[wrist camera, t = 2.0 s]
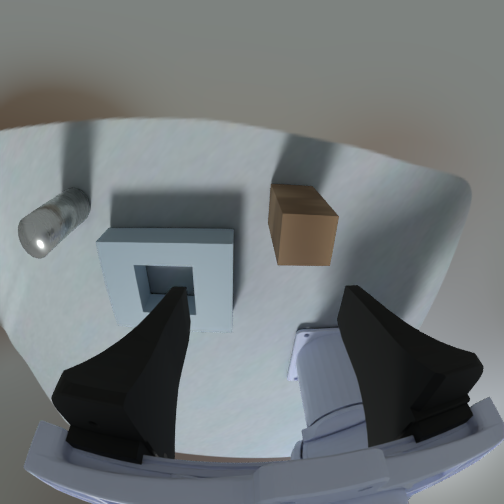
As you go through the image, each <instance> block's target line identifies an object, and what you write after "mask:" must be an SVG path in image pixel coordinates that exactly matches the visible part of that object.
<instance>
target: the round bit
mask: <svg viewBox="0 0 504 504" xmlns="http://www.w3.org/2000/svg"><path fill="white" fill-rule="evenodd" d="M89 211H90V205H89V201H88V198H87V197H86V195H85V194H84V193H83V192H82V191H81V190H79V189H77V188H69V189H67V190H66V191H64V192H62V193H61V194H59V195H57V196H56V197H54V198H53V199H51V200H49V201H48V202H46V203H45V204H43V205H42V206H40V207H39V208H37V209H36V210H34V211H33V212H31V213H30V214H28V215H27V216H26V217H24V218H23V219H22V220H21V221H20V223H19V226H18V236H19V240H20V242H21V244H22V246H23V248H24V249H25V251H26V252H27V253H28V254H30V255H31V256H32V257H35V258H44V257H45V256H46V255H47V254H48V253H49V252H50V251H52V250H53V249H54V248H55V247H56V246H57V245H58V244H59V243H60V242H61V241H62V240H63V239H64V238H65V237H66V236H67V235H69V234H70V233H71V232H72V231H73V230H74V229H75V228H76V227H77V226H79V225H80V224H81V223H82V222H83V221H84V220H85V219H86V218H87V217H88V215H89Z"/></svg>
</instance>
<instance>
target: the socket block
mask: <svg viewBox="0 0 504 504" xmlns="http://www.w3.org/2000/svg"><path fill="white" fill-rule="evenodd" d="M233 245H234V229H207V228H108V229H107V230H106V232H105V233H104V234H103V235H102V236H101V237H100V238H99V239H98V240H97V241H96V246H97V250H98V255H99V259H100V264H101V268H102V272H103V276H104V280H105V284H106V288H107V292H108V295H109V299H110V302H111V306H112V309H113V312H114V316H115V319H116V322H117V325H118V326H126V327H136V326H137V325H138V324H139V323H140V322H141V321H142V320H143V319H144V318H145V317H146V316H147V315H148V314H149V313H150V312H151V311H152V310H153V309H154V308H155V307H156V305H157V304H158V303H159V302H160V301H161V300H162V299H163V297H164V296H165V295H163V294H151V293H150V288H149V282H148V277H147V271H146V265H150V266H183V267H192V268H193V281H194V294H195V296H187V298H188V305H189V312H190V319H191V325H190V331H195V332H223V333H232V327H233Z"/></svg>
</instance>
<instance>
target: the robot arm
mask: <svg viewBox="0 0 504 504" xmlns="http://www.w3.org/2000/svg"><path fill="white" fill-rule="evenodd" d="M337 321H338V325H339V328H324V329H301V330H298V331H297V333H296V337H295V342H294V346H293V351H292V356H291V361H290V365H289V370H288V374H287V380H288V381H299V386H300V391H301V397H302V402H303V408H304V413H305V419H306V424H307V428H306V429H303V430H302V436H303V440H301V441H298V442H297V443H296V444H295V447H294V449H293V451H292V453H291V460H288V461H276V462H257V463H220V462H200V461H199V462H198V461H186V460H177V459H175V422H176V408H177V397H178V387H179V382H180V377H181V372H182V368H183V364H184V360H185V355H186V351H187V347H188V342H189V335H190V325H191V319H190V312H189V305H188V298H187V290H186V287H172V288H171V289H170V290H169V291H168V293H167V294H166V295H165V296H164V297H163V299H162V300H161V301H160V302H159V303H158V304H157V305H156V307H155V308H154V309H153V310H152V311H151V312H150V313H149V314H148V315H147V316H146V317H145V318H144V319H143V320H142V321H141V322H140V323H139V324H138V325H137V326H136V327H135V328H134V329H133V330H132V331H131V332H130V333H128V334H127V335H126V336H125V337H123V338H122V339H121V340H119V341H118V342H117V343H115V344H114V345H112V346H111V347H109V348H108V349H106V350H105V351H103V352H102V353H100V354H98V355H96V356H95V357H93V358H91V359H89V360H87V361H85V362H83V363H81V364H78V365H76V366H74V367H72V368H69V369H67V370H64V371H63V373H62V375H61V377H60V379H59V381H58V383H57V385H56V388H55V390H54V392H53V395H52V398H51V399H52V402H53V404H54V406H55V407H56V409H57V410H58V411H59V412H60V414H61V415H62V416H63V417H64V418H65V419H66V420H67V422H68V423H69V424H70V425H71V426H70V429H69V431H67V430H66V429H64V428H62V427H59V426H57V425H54V424H51V423H48V422H45V421H42V420H41V421H40V422H39V424H38V427H37V429H36V432H35V435H34V438H33V440H32V443H31V446H30V449H29V452H28V455H27V458H26V461H25V464H24V469H25V470H26V471H28V472H29V473H31V474H32V475H34V476H35V477H37V478H38V479H40V480H42V481H43V482H45V483H47V484H48V485H50V486H51V487H53V488H55V489H57V490H59V491H62V492H64V493H66V494H69V495H71V496H74V497H76V498H79V499H81V500H84V501H87V502H90V503H92V504H409V502H408V500H409V499H410V497H411V496H412V495H413V494H416V493H418V492H420V491H422V490H424V489H427V488H429V487H431V486H433V485H435V484H437V483H439V482H441V481H443V480H445V479H447V478H449V477H450V476H452V475H454V474H456V473H458V472H460V471H461V470H463V469H465V468H467V467H469V466H470V465H472V464H474V463H475V462H477V461H479V460H480V459H481V458H482V457H484V456H485V455H486V454H488V453H489V452H490V451H492V450H493V449H494V448H495V447H496V446H498V445H499V444H500V443H501V442H502V441H503V440H504V422H503V421H502V419H501V417H500V415H499V413H498V411H497V409H496V407H495V405H494V404H493V402H492V400H491V398H490V397H488V398H486V399H483V400H482V401H479V402H478V403H475V404H474V405H473V406H471V407H469V406H468V404H467V403H468V402H469V401H470V398H469V396H468V393H469V391H470V390H471V389H472V388H473V386H474V385H475V384H476V382H477V381H478V380H479V378H480V377H481V375H482V373H483V365H482V363H481V362H480V360H479V359H478V357H477V356H476V354H475V353H472V352H468V351H465V350H462V349H458V348H455V347H453V346H450V345H447V344H445V343H443V342H440V341H438V340H436V339H434V338H432V337H430V336H428V335H426V334H424V333H422V332H420V331H419V330H417V329H415V328H414V327H412V326H410V325H409V324H407V323H406V322H404V321H403V320H402V319H400V318H399V317H397V316H396V315H395V314H393V313H392V312H391V311H389V310H388V309H387V308H386V307H384V306H383V305H382V304H381V303H379V302H378V301H377V300H376V299H374V298H373V297H372V296H371V295H370V294H368V293H367V292H366V291H365V290H363V289H362V288H361V287H359V286H358V285H352V286H345V290H344V295H343V299H342V303H341V307H340V311H339V314H338V318H337ZM307 333H308V334H307Z"/></svg>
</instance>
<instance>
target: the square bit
mask: <svg viewBox="0 0 504 504" xmlns="http://www.w3.org/2000/svg"><path fill="white" fill-rule="evenodd" d="M338 218H339V216H338V215H337V214H336V213H335V211H334V210H333V209H332V208H331V207H330V206H329V204H328V203H327V202H326V201H325V200H324V199H323V197H322V196H321V195H320V194H319V193H318V192H317V191H316V190H315V188H314V187H313V186H302V185H285V184H271V188H270V203H269V217H268V225H269V229H270V234H271V238H272V242H273V247H274V251H275V255H276V260H277V264H278V265H297V266H330V262H331V257H332V252H333V246H334V241H335V235H336V230H337V224H338Z"/></svg>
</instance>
